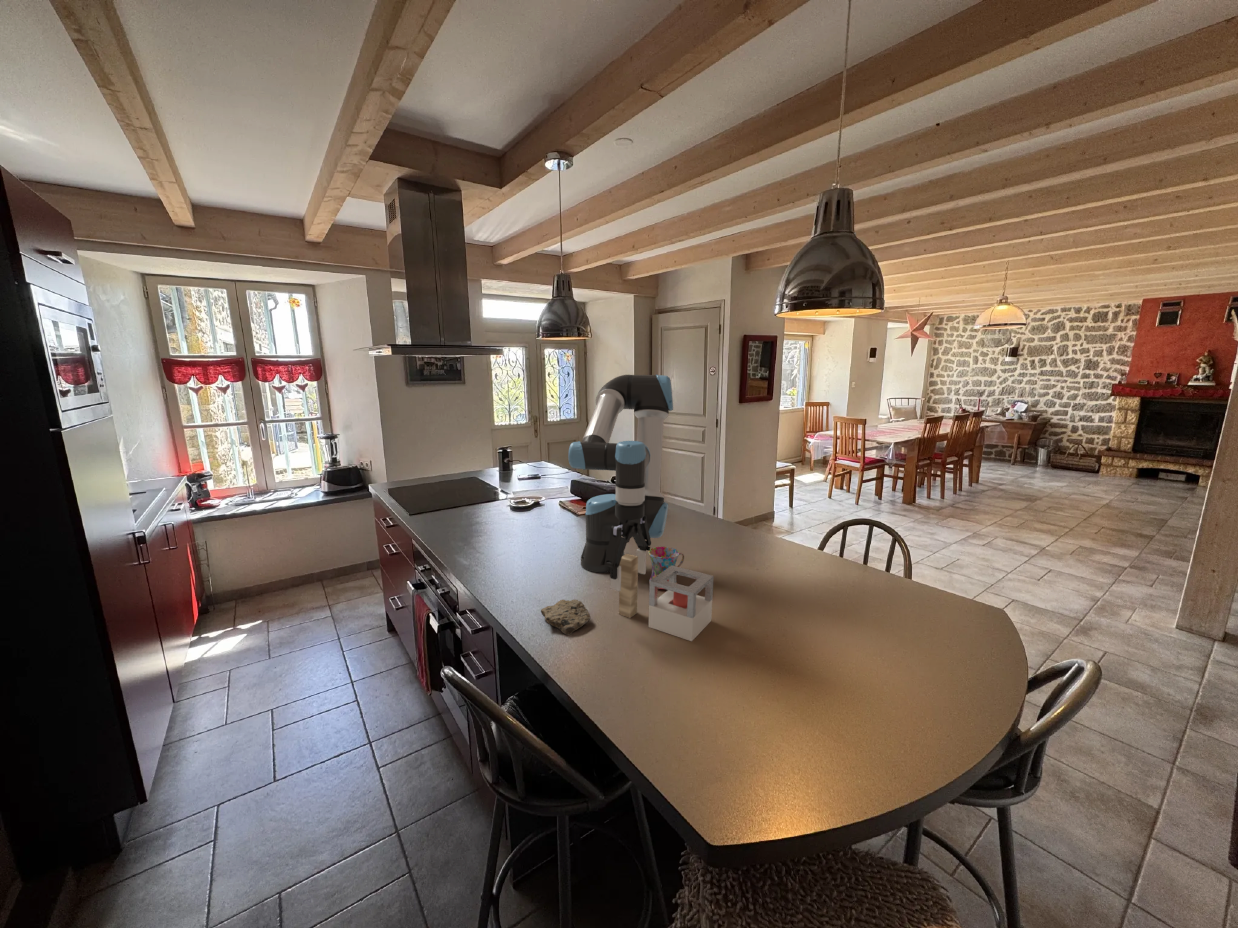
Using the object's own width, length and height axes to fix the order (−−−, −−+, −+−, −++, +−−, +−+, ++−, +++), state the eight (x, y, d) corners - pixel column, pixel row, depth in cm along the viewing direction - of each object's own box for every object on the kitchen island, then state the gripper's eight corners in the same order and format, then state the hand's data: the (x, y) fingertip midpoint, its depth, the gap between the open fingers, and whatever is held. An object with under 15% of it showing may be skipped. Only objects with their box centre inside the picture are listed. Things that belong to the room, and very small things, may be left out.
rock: (552, 639, 119) (552, 622, 118) (538, 617, 130) (538, 601, 129) (594, 628, 124) (594, 612, 123) (578, 608, 134) (578, 593, 134)
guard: (671, 587, 134) (671, 565, 132) (712, 599, 127) (713, 575, 126) (649, 604, 124) (649, 580, 123) (692, 618, 117) (693, 593, 116)
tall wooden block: (626, 608, 134) (626, 553, 131) (637, 612, 132) (638, 556, 129) (619, 614, 131) (619, 557, 128) (630, 617, 129) (630, 560, 126)
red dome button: (677, 612, 129) (678, 586, 128) (691, 617, 127) (692, 590, 126) (670, 619, 126) (670, 591, 124) (684, 623, 124) (685, 596, 122)
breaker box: (670, 608, 135) (671, 587, 134) (711, 620, 128) (712, 599, 127) (648, 626, 125) (649, 604, 124) (691, 641, 119) (692, 618, 117)
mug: (657, 594, 143) (658, 559, 141) (642, 582, 151) (642, 549, 149) (691, 586, 148) (693, 553, 146) (674, 575, 157) (675, 543, 154)
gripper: (641, 490, 138) (639, 563, 142) (589, 510, 118) (590, 594, 122) (665, 494, 134) (662, 568, 138) (616, 515, 114) (615, 602, 118)
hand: (628, 580), depth 130 cm, fingers open, 12 cm apart
